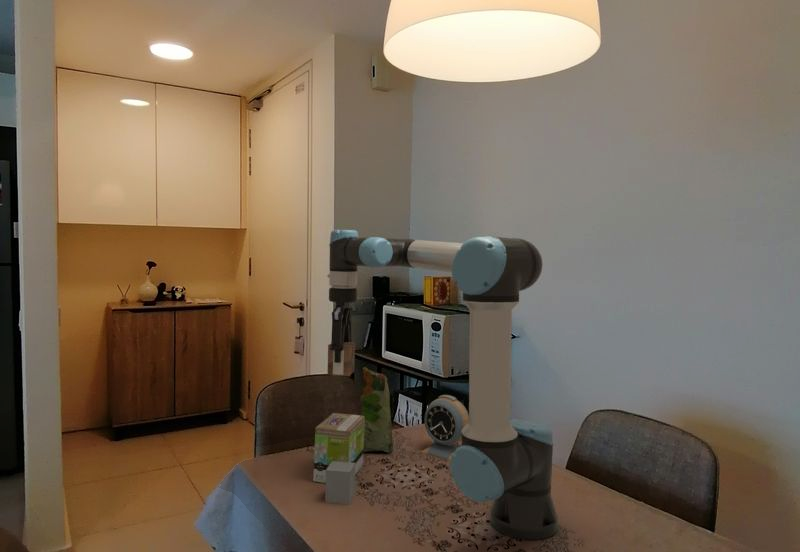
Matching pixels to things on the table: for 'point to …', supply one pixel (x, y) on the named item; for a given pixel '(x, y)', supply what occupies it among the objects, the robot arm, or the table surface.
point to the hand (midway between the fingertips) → (341, 371)
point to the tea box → (338, 443)
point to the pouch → (376, 412)
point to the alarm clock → (445, 426)
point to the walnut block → (348, 359)
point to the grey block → (340, 482)
